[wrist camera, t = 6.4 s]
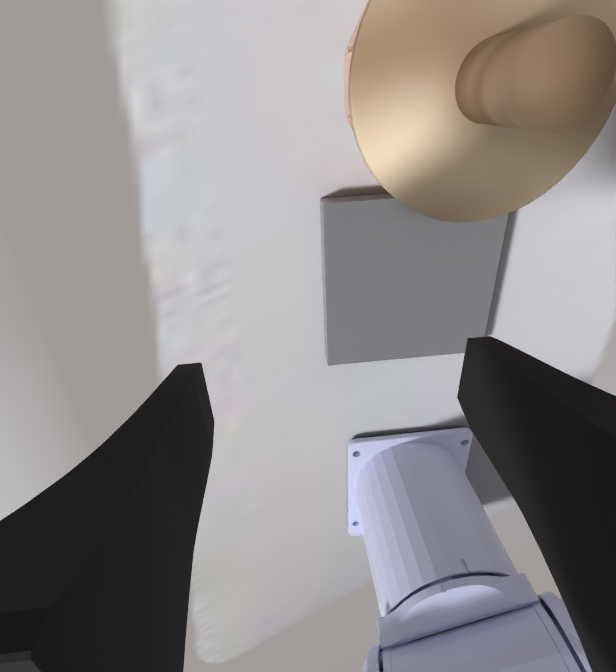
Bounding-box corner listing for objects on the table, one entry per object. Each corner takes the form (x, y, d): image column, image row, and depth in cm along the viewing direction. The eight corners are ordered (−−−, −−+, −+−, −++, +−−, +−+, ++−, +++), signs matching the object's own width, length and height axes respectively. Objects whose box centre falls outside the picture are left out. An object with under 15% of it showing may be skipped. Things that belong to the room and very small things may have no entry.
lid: (570, 209, 16) (667, 246, 12) (347, 224, 16) (374, 267, 12) (659, -109, 12) (857, -211, 8) (349, -103, 11) (396, -209, 7)
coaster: (473, 341, 23) (481, 350, 22) (325, 355, 23) (327, 365, 22) (502, 185, 19) (513, 189, 18) (320, 198, 18) (322, 203, 18)
